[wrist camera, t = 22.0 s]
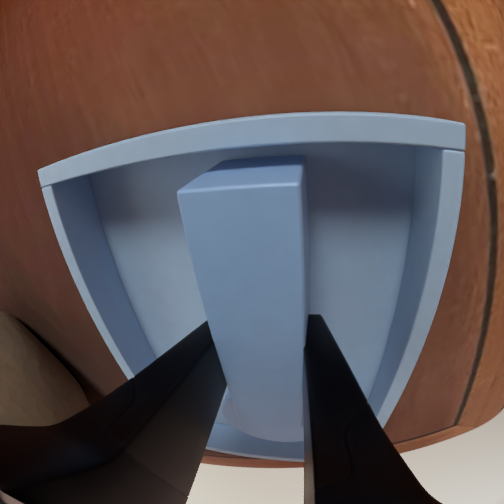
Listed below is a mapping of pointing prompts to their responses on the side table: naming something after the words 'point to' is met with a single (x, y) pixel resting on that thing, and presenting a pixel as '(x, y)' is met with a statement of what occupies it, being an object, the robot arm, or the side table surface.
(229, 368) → the blue spoon
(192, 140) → the blue tray
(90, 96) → the side table surface
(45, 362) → the bowl
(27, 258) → the side table surface
